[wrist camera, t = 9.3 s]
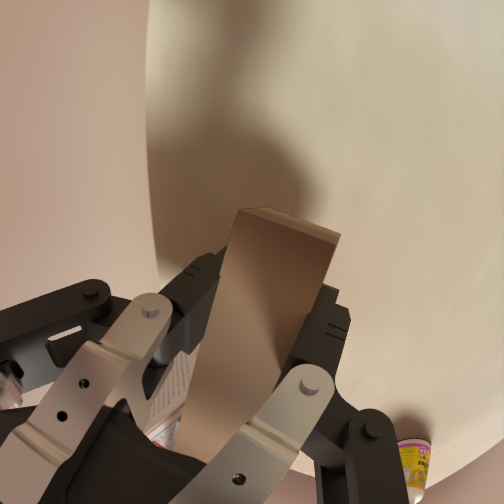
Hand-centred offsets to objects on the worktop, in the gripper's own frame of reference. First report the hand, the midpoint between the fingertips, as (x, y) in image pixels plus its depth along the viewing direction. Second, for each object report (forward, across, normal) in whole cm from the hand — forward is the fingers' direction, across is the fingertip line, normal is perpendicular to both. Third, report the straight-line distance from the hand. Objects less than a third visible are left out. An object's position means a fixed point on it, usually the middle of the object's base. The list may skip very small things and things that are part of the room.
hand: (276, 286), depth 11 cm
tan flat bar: (-1, 0, +6) cm, 6 cm away
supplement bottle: (+16, -26, +34) cm, 45 cm away
